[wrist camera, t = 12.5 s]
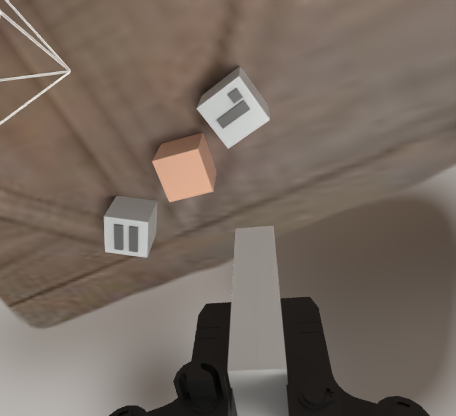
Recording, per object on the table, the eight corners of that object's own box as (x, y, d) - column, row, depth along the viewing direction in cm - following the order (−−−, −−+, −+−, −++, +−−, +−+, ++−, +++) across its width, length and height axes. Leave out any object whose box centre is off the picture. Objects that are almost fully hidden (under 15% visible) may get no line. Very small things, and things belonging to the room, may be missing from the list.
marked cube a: (117, 228, 50) (104, 253, 46) (116, 195, 48) (102, 217, 43) (156, 233, 50) (146, 258, 46) (157, 200, 48) (147, 223, 43)
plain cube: (176, 181, 46) (169, 202, 42) (161, 143, 44) (151, 161, 40) (216, 171, 46) (213, 191, 41) (203, 132, 43) (197, 148, 39)
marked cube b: (230, 131, 43) (228, 149, 38) (202, 95, 41) (196, 109, 37) (267, 105, 41) (270, 120, 37) (240, 65, 39) (238, 76, 35)
